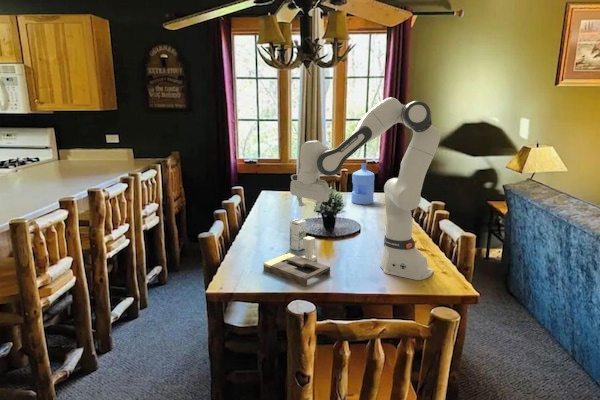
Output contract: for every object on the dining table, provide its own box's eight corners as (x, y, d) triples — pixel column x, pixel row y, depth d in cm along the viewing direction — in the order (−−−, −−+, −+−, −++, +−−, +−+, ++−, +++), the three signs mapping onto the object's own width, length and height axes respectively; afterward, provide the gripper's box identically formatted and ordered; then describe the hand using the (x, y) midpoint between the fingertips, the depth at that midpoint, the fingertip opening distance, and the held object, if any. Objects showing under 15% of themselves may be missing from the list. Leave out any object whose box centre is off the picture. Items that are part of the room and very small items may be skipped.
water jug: (361, 198, 310) (362, 161, 304) (377, 202, 299) (379, 163, 292) (346, 201, 301) (347, 163, 294) (363, 206, 289) (364, 166, 282)
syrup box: (297, 245, 212) (297, 218, 208) (306, 248, 208) (306, 220, 205) (289, 248, 207) (289, 220, 204) (298, 251, 204) (298, 222, 200)
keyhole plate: (330, 274, 177) (330, 266, 177) (305, 286, 166) (305, 278, 165) (288, 259, 193) (288, 252, 192) (263, 270, 181) (263, 262, 181)
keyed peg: (316, 260, 193) (316, 237, 190) (309, 263, 189) (309, 240, 187) (308, 257, 196) (308, 235, 194) (301, 260, 193) (301, 238, 190)
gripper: (332, 180, 179) (331, 211, 182) (297, 173, 192) (297, 202, 196) (323, 182, 174) (322, 213, 178) (288, 175, 188) (287, 205, 191)
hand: (309, 208), depth 187 cm, fingers open, 8 cm apart
